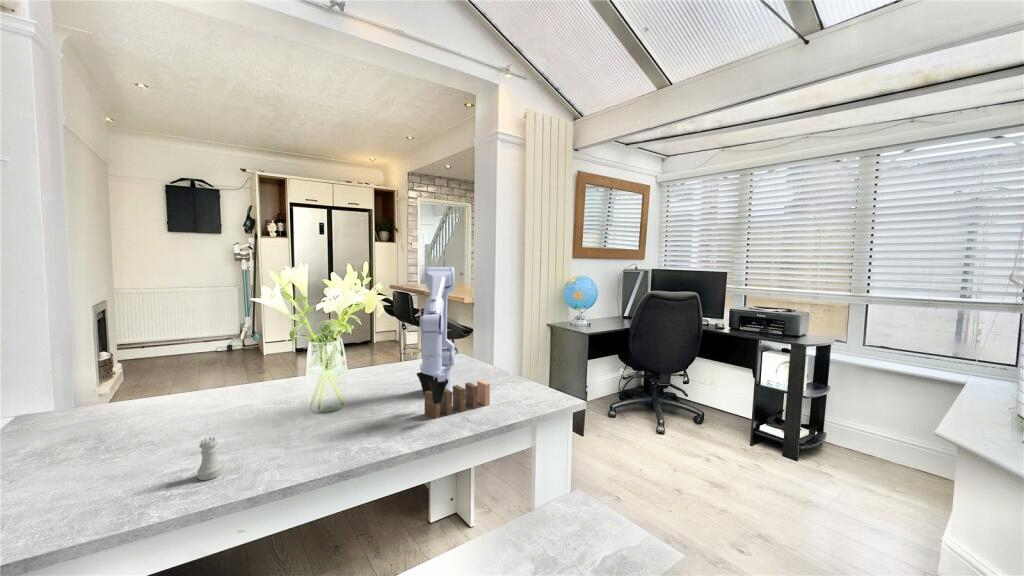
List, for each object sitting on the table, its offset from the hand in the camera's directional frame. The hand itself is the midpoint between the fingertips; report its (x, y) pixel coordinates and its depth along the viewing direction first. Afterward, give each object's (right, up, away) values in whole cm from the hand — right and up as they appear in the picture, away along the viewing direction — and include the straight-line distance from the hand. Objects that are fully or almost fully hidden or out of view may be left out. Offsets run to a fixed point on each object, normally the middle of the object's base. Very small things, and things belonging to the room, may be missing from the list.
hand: (432, 399), depth 122 cm
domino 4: (+11, -5, +8) cm, 14 cm away
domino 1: (0, -5, 0) cm, 5 cm away
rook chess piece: (-41, -7, -34) cm, 54 cm away
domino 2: (+4, -5, +3) cm, 7 cm away
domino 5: (+14, -4, +11) cm, 19 cm away
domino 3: (+7, -5, +6) cm, 10 cm away
